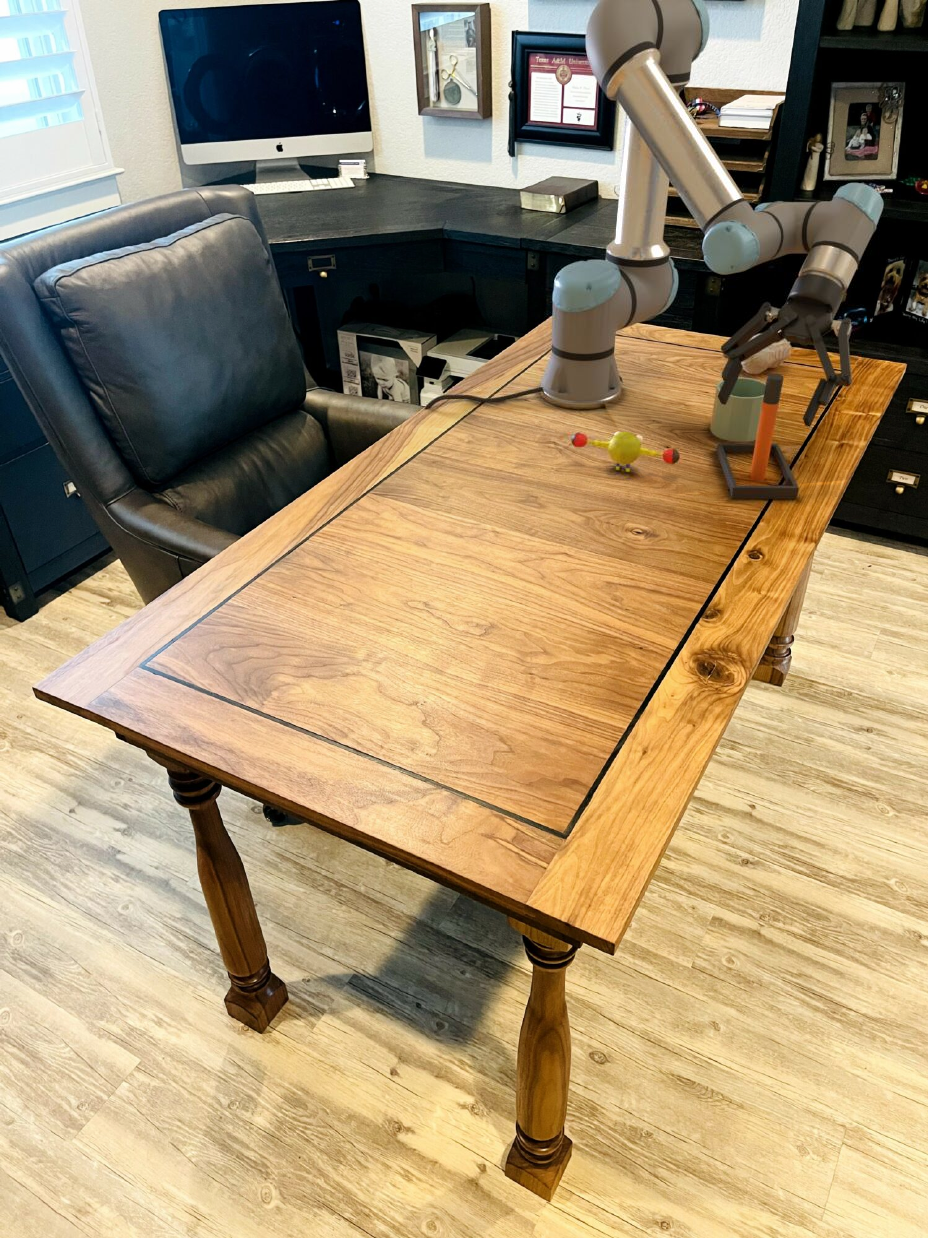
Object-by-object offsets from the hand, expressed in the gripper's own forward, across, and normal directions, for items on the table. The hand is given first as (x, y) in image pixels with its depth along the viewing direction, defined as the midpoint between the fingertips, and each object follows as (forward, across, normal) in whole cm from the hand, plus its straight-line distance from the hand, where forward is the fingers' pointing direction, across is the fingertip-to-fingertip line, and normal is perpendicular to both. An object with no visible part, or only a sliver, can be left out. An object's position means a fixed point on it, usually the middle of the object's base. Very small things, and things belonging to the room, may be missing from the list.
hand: (762, 411), depth 145 cm
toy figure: (+14, +19, -4) cm, 24 cm away
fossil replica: (-24, +19, -42) cm, 52 cm away
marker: (+7, 0, -10) cm, 12 cm away
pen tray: (+6, +1, -12) cm, 13 cm away
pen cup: (-3, +10, -20) cm, 23 cm away
